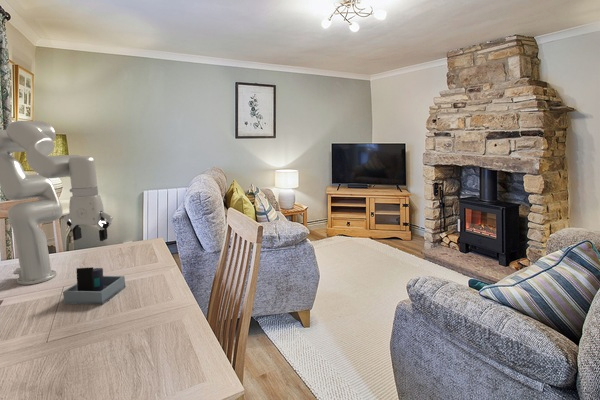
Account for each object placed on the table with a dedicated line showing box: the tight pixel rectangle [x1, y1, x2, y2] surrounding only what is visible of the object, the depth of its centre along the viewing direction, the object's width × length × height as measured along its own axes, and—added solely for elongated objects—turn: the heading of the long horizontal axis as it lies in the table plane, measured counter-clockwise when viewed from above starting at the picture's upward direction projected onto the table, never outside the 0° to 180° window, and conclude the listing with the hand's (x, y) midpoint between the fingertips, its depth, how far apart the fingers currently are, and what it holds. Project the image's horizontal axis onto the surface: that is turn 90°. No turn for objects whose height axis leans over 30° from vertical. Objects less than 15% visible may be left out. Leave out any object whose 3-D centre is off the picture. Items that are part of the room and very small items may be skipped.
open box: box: [62, 275, 127, 306], centre depth 119 cm, size 14×14×4 cm
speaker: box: [75, 266, 104, 291], centre depth 118 cm, size 8×6×10 cm
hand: (90, 239), depth 117 cm, fingers open, 9 cm apart
